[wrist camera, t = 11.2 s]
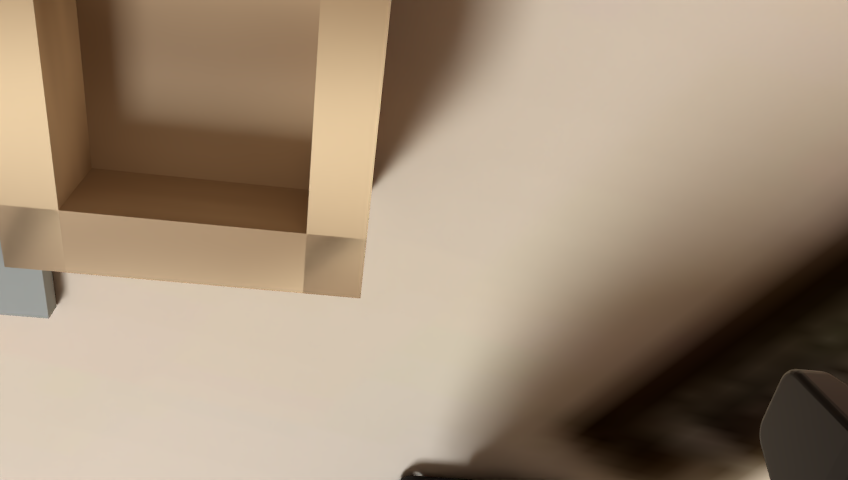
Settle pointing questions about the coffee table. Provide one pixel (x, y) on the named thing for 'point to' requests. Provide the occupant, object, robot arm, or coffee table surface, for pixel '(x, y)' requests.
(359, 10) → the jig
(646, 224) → the coffee table surface
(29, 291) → the mat
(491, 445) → the coffee table surface
